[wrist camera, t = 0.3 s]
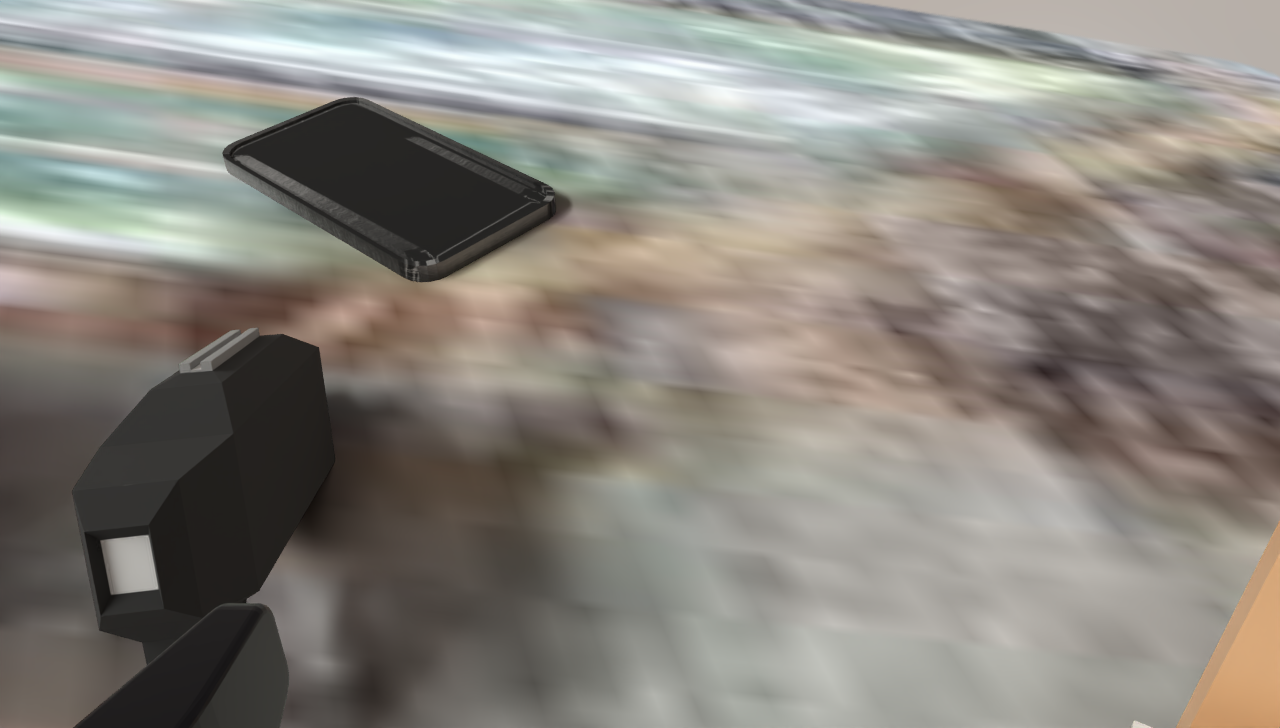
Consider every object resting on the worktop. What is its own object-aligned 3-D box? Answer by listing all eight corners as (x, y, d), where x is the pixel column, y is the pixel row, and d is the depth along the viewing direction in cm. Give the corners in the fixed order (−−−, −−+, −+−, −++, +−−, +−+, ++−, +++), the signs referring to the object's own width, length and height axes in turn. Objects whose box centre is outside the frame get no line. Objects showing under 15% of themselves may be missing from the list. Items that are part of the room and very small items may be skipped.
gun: (366, 582, 38) (325, 299, 36) (257, 889, 23) (176, 420, 21) (283, 592, 38) (237, 308, 36) (115, 909, 22) (17, 435, 20)
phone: (420, 273, 42) (212, 150, 50) (424, 297, 43) (218, 172, 51) (568, 192, 46) (355, 91, 54) (569, 215, 47) (359, 112, 55)
